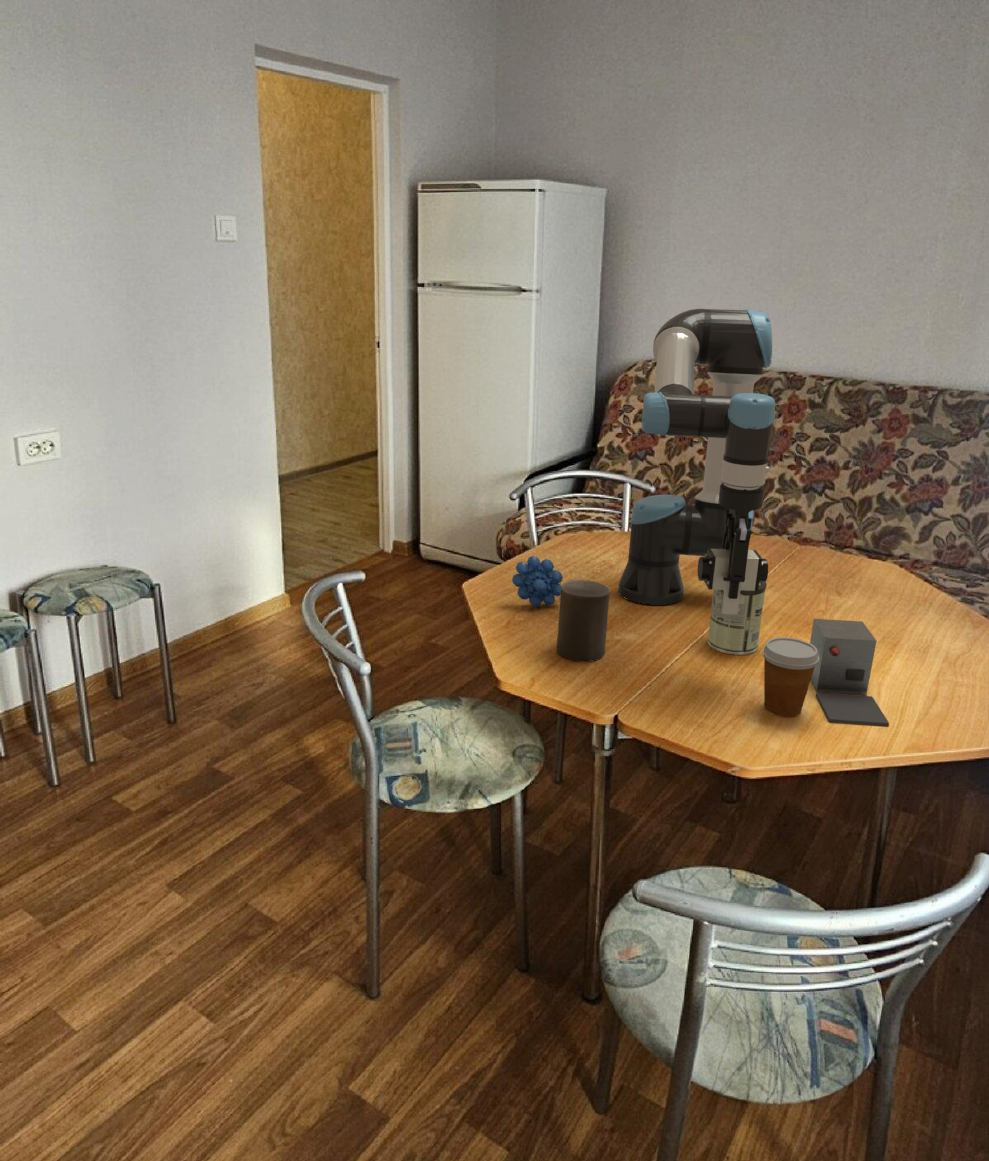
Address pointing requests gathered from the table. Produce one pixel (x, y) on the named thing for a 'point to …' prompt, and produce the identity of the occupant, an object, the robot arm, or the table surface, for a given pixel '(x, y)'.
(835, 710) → the pad
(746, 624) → the coffee can
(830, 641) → the block
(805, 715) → the table surface
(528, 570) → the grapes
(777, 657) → the disposable coffee cup
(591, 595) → the pillar candle
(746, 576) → the pneumatic valve
